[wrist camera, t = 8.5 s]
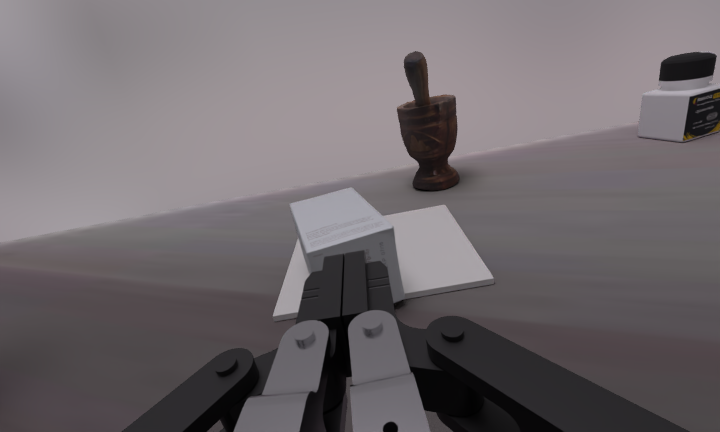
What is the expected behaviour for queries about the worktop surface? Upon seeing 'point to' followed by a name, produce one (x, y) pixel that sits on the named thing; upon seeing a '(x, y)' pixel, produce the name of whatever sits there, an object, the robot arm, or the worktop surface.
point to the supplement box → (346, 232)
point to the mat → (409, 259)
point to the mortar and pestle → (428, 128)
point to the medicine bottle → (682, 100)
